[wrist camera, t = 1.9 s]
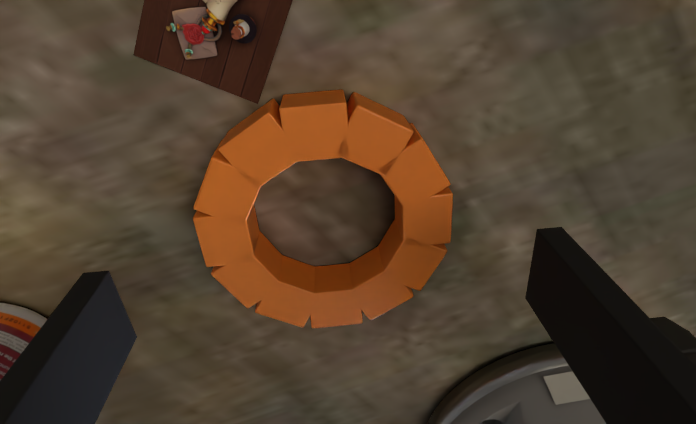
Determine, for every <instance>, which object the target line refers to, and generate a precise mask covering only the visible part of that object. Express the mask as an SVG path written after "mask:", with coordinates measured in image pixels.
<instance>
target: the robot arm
mask: <svg viewBox="0 0 696 424" xmlns="http://www.w3.org/2000/svg"><path fill="white" fill-rule="evenodd" d="M526 300H527V301H528V303H529V305H530V306H531V308H532V309H533V311H534V312H535V314H536V315H537V317H538V318H539V320H540V322H541V323H542V325H543V326H544V328H545V329H546V331H547V332H548V334H549V336H550V337H551V339H552V340H553V342H554V344H548V345H543V346H538V347H534V348H531V349H527V350H524V351H521V352H518V353H515V354H512V355H509V356H507V357H505V358H502V359H500V360H498V361H496V362H494V363H492V364H490V365H488V366H486V367H484V368H482V369H481V370H479V371H477V372H475V373H474V374H472V375H471V376H469V377H468V378H467V379H465V380H464V381H462V382H461V383H460V384H459V385H458V386H456V387H455V388H454V389H453V390H452V391H451V392H450V393H449V394H448V395H447V396H446V397H445V398H444V399H443V400H442V401H441V403H440V404H439V405H438V406H437V408H436V409H435V411H434V412H433V414H432V416H431V417H430V419H429V421H428V424H696V338H695V337H694V336H693V335H692V334H691V333H690V332H689V331H688V330H686V329H684V328H683V327H681V326H679V325H678V324H676V323H674V322H673V321H671V320H669V319H668V318H666V317H657V318H649V317H648V316H647V315H646V314H645V313H644V312H643V311H642V310H641V309H640V308H639V307H638V306H637V305H636V304H635V303H634V302H633V301H632V300H631V299H630V298H629V297H628V295H627V294H626V293H625V292H624V291H623V290H622V289H621V288H620V287H619V286H618V285H617V284H616V283H615V282H614V281H613V280H612V279H611V278H610V277H609V276H608V275H607V274H606V273H605V272H604V271H603V270H602V269H601V267H600V266H599V265H598V264H597V263H596V262H595V261H594V260H593V259H592V258H591V257H590V256H589V255H588V254H587V253H586V252H585V251H584V250H583V249H582V248H581V247H580V246H579V245H578V244H577V243H576V242H575V241H574V240H573V238H572V237H571V236H570V235H569V234H568V233H567V232H566V231H565V230H564V229H563V228H562V227H556V228H545V229H537V232H536V238H535V244H534V250H533V256H532V262H531V268H530V274H529V280H528V286H527V292H526ZM136 338H137V336H136V334H135V331H134V329H133V327H132V324H131V322H130V320H129V317H128V315H127V313H126V310H125V308H124V305H123V303H122V301H121V298H120V296H119V294H118V291H117V289H116V286H115V284H114V282H113V279H112V277H111V275H110V272H109V271H99V272H88V273H83V274H82V275H81V276H80V278H79V279H78V280H77V282H76V283H75V284H74V286H73V287H72V288H71V289H70V291H69V292H68V293H67V295H66V296H65V297H64V299H63V300H62V301H61V302H60V304H59V305H58V306H57V308H56V309H55V310H54V312H53V313H52V314H51V315H50V317H49V318H48V319H47V321H46V322H45V323H44V325H43V326H42V327H41V328H40V330H39V331H38V332H37V334H36V335H35V336H34V338H33V339H32V340H31V341H30V343H29V344H28V345H27V347H26V348H25V349H24V351H23V352H22V353H21V354H20V356H19V357H18V358H17V360H16V361H15V362H14V364H13V365H12V366H11V367H10V369H9V370H8V371H7V373H6V374H5V375H4V377H3V378H2V379H1V380H0V424H95V422H96V420H97V418H98V416H99V414H100V412H101V410H102V408H103V406H104V404H105V402H106V400H107V398H108V395H109V393H110V391H111V389H112V387H113V385H114V383H115V381H116V379H117V377H118V375H119V373H120V371H121V369H122V367H123V365H124V363H125V361H126V358H127V356H128V354H129V352H130V350H131V348H132V346H133V344H134V342H135V340H136Z"/></svg>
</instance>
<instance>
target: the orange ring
mask: <svg viewBox="0 0 696 424" xmlns="http://www.w3.org/2000/svg"><path fill="white" fill-rule="evenodd" d="M333 158H343V159H346V160H348V161H350V162H353V163H355V164H357V165H360V166H362V167H364V168H367V169H369V170H371V171H374V172H376V173H378V174H380V175H381V176H382V178H383V179H384V181H385V182H386V184H387V185H388V186H389V188H390V189H391V191H392V192H393V193H394V195H395V219H394V221H393V222H392V224H391V226H390V227H389V229H388V231H387V232H386V234H385V236H384V237H383V239H382V241H381V242H380V244H379V246H378V247H376V248H374V249H373V250H371V251H369V252H368V253H366V254H364V255H363V256H361V257H359V258H358V259H356V260H354V261H352V262H351V263H346V264H336V265H326V266H316V267H314V266H312V265H309V264H306V263H303V262H300V261H297V260H294V259H292V258H289V257H286V256H283V255H282V254H281V253H280V252H279V251H278V250H277V249H276V248H275V247H274V246H273V245H272V244H271V243H270V242H269V240H268V239H267V238H266V237H265V236H264V235H263V234H262V233H261V232H260V231H259V226H258V221H257V216H256V211H255V206H254V202H255V200H256V198H257V196H258V193H259V191H260V189H261V186H262V185H263V184H265V183H266V182H268V181H269V180H271V179H272V178H274V177H275V176H277V175H278V174H280V173H281V172H283V171H284V170H285V169H287V168H288V167H290V166H291V165H293V164H294V163H296V162H300V161H311V160H322V159H333ZM448 186H450V182H449V180H448V178H447V177H446V175H445V174H444V172H443V170H442V169H441V167H440V166H439V164H438V162H437V161H436V159H435V157H434V156H433V154H432V153H431V151H430V149H429V148H428V146H427V145H426V143H425V141H424V140H423V138H422V137H421V135H420V134H419V132H418V131H417V129H416V128H415V126H414V125H413V124H412V123H410V124H409V123H408V122H407V120H406V118H405V117H404V116H403V115H401V114H399V113H397V112H395V111H393V110H391V109H389V108H387V107H385V106H383V105H381V104H379V103H376V102H374V101H372V100H370V99H368V98H366V97H364V96H362V95H360V94H358V93H356V92H353V93H352V94H351V96H350V98H349V100H348V103H346V99H345V95H344V91H343V90H342V89H341V90H330V91H318V92H307V93H296V94H284V95H283V97H282V101H281V105H280V106H279V104H278V103H277V102H276V100H275V99H271V100H270V101H269V102H267V103H266V104H265V105H263V106H262V107H261V108H259V109H258V110H256V111H255V112H254V113H252V114H251V115H250V116H248V117H247V118H245V119H244V120H243V121H241V122H240V123H239V124H237V125H236V126H235V127H233V128H232V129H230V130H229V131H228V132H227V134H226V136H225V138H224V139H223V140H221V142H220V144H219V145H218V147H217V149H216V150H215V152H214V154H213V156H212V157H211V160H210V162H209V165H208V168H207V171H206V174H205V176H204V179H203V182H202V185H201V187H200V190H199V193H198V196H197V198H196V201H195V204H194V209H195V210H197V211H196V213H195V215H194V217H193V221H194V225H195V228H196V232H197V235H198V239H199V242H200V246H201V250H202V253H203V257H204V260H205V264H206V267H211V266H214V267H213V270H212V273H211V275H212V276H213V277H214V278H215V279H216V280H218V281H219V282H220V283H221V284H222V285H223V286H224V287H225V288H226V289H227V290H228V291H229V292H230V293H231V294H232V295H234V296H235V297H236V298H237V299H238V300H239V301H240V302H241V303H242V304H243V305H244V306H245V307H246V308H249V307H251V306H253V305H254V304H256V303H257V304H256V310H255V313H258V314H261V315H264V316H267V317H270V318H274V319H277V320H280V321H283V322H287V323H290V324H293V325H296V326H299V327H304V326H305V324H306V322H307V321H308V319H309V317H310V320H311V326H312V328H323V327H332V326H342V325H352V324H361V323H362V322H363V321H362V311H363V313H364V314H365V315H366V316H367V317H368V318H369V319H370V320H373V319H374V318H376V317H378V316H380V315H382V314H383V313H385V312H387V311H389V310H391V309H392V308H394V307H396V306H398V305H400V304H401V303H403V302H405V301H407V300H409V299H410V298H412V297H413V292H412V289H411V288H413V289H416V290H419V291H421V289H422V288H423V286H424V285H425V284H426V282H427V281H428V279H429V278H430V276H431V275H432V273H433V272H434V270H435V269H436V268H437V266H438V265H439V263H440V262H441V260H442V259H443V257H444V256H445V254H446V253H447V249H446V247H445V244H444V243H450V241H451V225H452V205H453V193H452V192H451V190H450V189H449V187H448Z"/></svg>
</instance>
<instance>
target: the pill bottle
mask: <svg viewBox="0 0 696 424" xmlns="http://www.w3.org/2000/svg"><path fill="white" fill-rule="evenodd" d="M46 321H47V319H46V318H45V317H43V316H41V315H40V314H38V313H36V312H34V311H32V310H29V309H26V308H23V307H20V306H16V305H11V304H6V303H0V380H1V379H2V378H3V377H4V375H5V374H6V373H7V371H8V370H9V369H10V367H11V366H12V365H13V364H14V362H15V361H16V360H17V358H18V357H19V356H20V354H21V353H22V352H23V351H24V349H25V348H26V347H27V345H28V344H29V343H30V341H31V340H32V339H33V338H34V336H35V335H36V334H37V332H38V331H39V330H40V328H41V327H42V326H43V325H44V323H45V322H46Z"/></svg>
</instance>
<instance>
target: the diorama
mask: <svg viewBox="0 0 696 424" xmlns="http://www.w3.org/2000/svg"><path fill="white" fill-rule="evenodd" d="M291 3H292V0H144V5H143V10H142V15H141V20H140V25H139V30H138V35H137V40H136V45H135V50H134V55H135V56H138V57H140V58H143V59H145V60H148V61H150V62H153V63H155V64H158V65H161V66H163V67H166V68H168V69H171V70H173V71H176V72H178V73H181V74H183V75H186V76H188V77H191V78H194V79H196V80H199V81H201V82H204V83H206V84H209V85H211V86H214V87H216V88H219V89H222V90H224V91H227V92H229V93H232V94H234V95H237V96H239V97H242V98H244V99H247V100H250V101H252V102H255V103H257V104H258V102H259V99H260V96H261V93H262V90H263V87H264V84H265V81H266V78H267V75H268V72H269V69H270V66H271V63H272V60H273V57H274V54H275V51H276V48H277V45H278V42H279V39H280V36H281V33H282V30H283V27H284V24H285V21H286V18H287V15H288V12H289V9H290V6H291Z"/></svg>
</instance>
